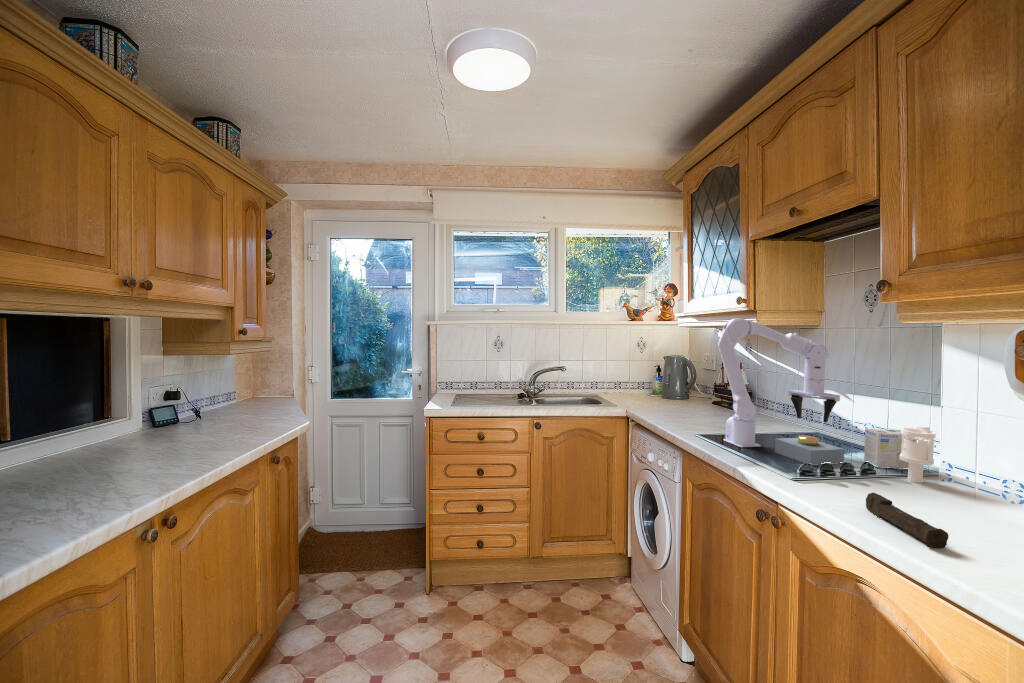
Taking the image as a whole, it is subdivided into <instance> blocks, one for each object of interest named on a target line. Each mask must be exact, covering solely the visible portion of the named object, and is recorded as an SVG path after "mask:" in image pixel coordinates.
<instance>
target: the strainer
mask: <svg viewBox="0 0 1024 683" xmlns="http://www.w3.org/2000/svg"><path fill="white" fill-rule="evenodd" d="M930 429H931V427H930V426H928V425H927V426H926V425H918V426H917V427H916V428H913V427H902V428H900V430H901V433H902V447H901V454H900V456H899V459H901V460H903V461H906V462H909V466H908V470H907V471H908V472H907V481H909V482H911V483H916V484H922V483H923V482H924V481H923V479H924V478H923V477H924V466H933V465H935V464H934V463H935V459H934V448H935V447H934V446H935V445H934V443H935V438H936V434H937V433H936V432H935V431H931V430H930ZM907 435H908V436H907ZM913 439H914V440H917V442H913Z"/></svg>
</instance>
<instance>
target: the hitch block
mask: <svg viewBox="0 0 1024 683" xmlns="http://www.w3.org/2000/svg"><path fill="white" fill-rule="evenodd" d="M774 453H776V454H778V455H781V456H784V457H786V458H789V459H792V460H794V459H795V460H794V461H797V462H800V463H802V462H803V463H802V464H805V463H812V464H821V463H824V462H831V463H834V464H833V465H836V464H835V463H840V462H844V461H845V449H844V448H842V447H839V446H835V445H833V444H830V443H825V442H823V441H820V440H819V446H807V445H802V444H799V443H798V437H786V438H785V437H784V438H780V437H779V438H775V439H774ZM844 463H845V462H844Z"/></svg>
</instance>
